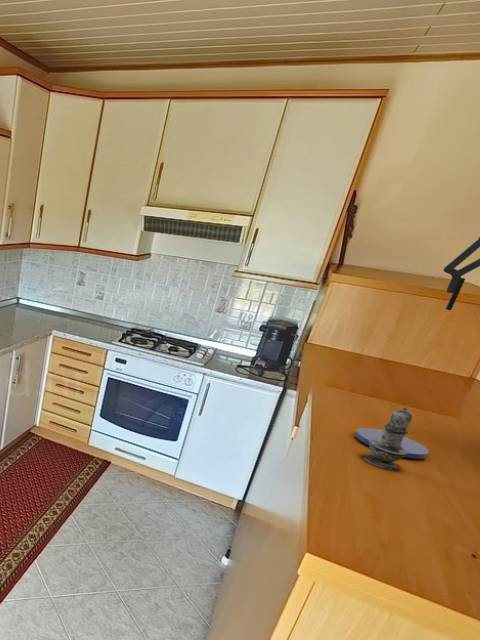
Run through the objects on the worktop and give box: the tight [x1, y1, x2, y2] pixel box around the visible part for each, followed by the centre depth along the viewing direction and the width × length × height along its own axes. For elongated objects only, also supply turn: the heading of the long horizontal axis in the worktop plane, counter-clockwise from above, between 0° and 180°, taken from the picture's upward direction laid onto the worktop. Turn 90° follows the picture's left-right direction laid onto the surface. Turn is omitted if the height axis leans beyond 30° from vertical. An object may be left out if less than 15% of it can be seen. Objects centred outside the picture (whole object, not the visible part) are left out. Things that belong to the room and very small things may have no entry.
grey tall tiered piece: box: [363, 406, 413, 471], centre depth 93 cm, size 6×6×12 cm
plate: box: [355, 427, 430, 460], centre depth 103 cm, size 12×12×2 cm
